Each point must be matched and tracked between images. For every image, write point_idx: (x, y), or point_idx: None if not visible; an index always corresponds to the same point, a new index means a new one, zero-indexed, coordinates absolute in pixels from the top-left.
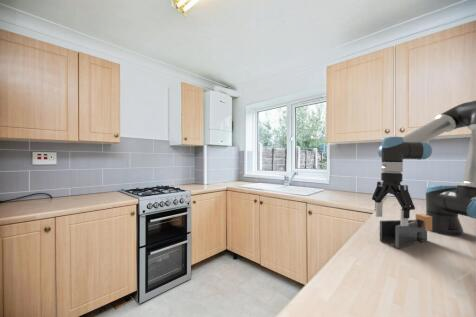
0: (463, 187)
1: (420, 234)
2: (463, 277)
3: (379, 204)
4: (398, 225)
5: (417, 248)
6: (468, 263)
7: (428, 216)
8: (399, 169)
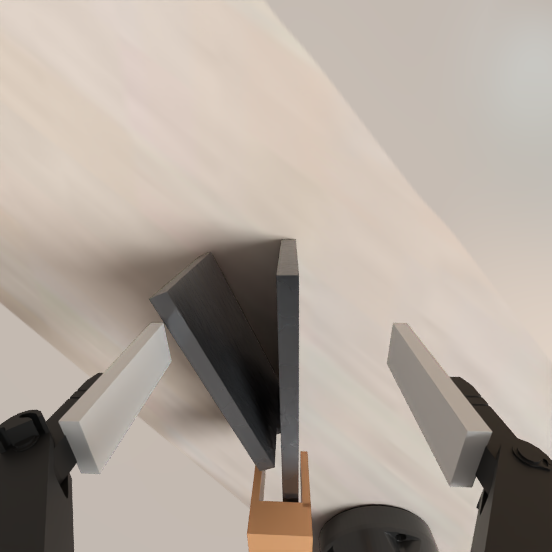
0: None
1: None
2: (5, 290)
3: (446, 435)
4: (179, 319)
5: None
6: None
7: (254, 550)
8: None
